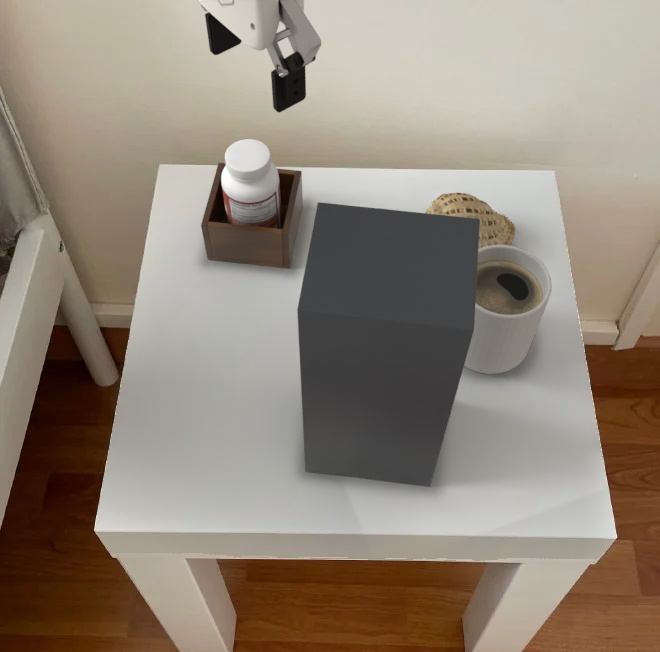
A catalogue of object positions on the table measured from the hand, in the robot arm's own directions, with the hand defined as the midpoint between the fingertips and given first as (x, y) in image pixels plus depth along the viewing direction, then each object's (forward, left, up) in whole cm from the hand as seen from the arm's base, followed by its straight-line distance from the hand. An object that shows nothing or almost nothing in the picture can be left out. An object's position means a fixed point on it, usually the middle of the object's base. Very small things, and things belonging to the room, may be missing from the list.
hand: (257, 75), depth 73 cm
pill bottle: (-2, +1, -21) cm, 21 cm away
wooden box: (-2, +1, -22) cm, 22 cm away
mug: (+24, -10, -22) cm, 34 cm away
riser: (+14, -23, -22) cm, 35 cm away
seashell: (+22, +3, -22) cm, 31 cm away
